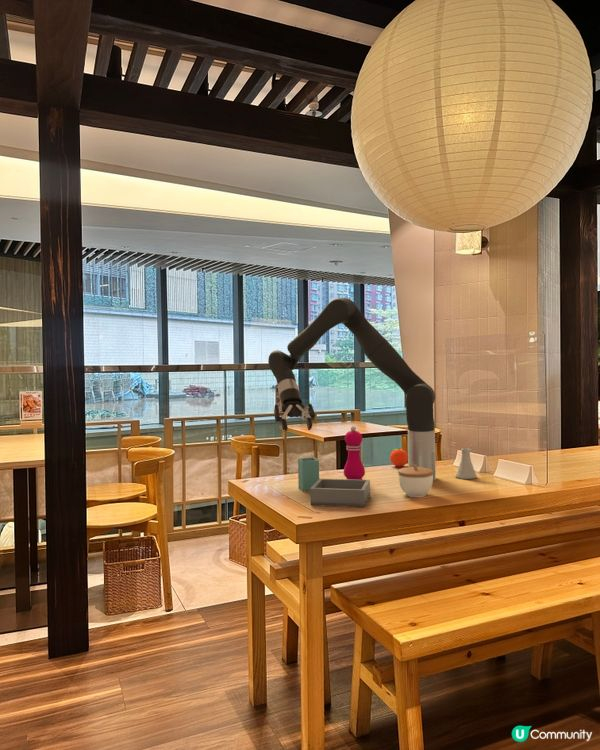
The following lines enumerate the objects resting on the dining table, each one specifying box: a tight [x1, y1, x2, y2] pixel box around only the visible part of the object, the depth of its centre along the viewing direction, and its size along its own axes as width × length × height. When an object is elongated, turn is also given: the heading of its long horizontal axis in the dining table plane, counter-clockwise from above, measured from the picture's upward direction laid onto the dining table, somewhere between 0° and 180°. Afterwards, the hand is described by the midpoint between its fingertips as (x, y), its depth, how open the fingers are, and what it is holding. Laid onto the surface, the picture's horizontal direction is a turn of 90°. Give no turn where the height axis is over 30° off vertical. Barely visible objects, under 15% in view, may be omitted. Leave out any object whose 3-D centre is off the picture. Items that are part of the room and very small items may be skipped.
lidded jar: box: [397, 465, 434, 498], centre depth 186 cm, size 11×11×9 cm
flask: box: [455, 448, 477, 480], centre depth 210 cm, size 7×7×10 cm
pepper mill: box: [343, 425, 366, 480], centre depth 202 cm, size 7×7×20 cm
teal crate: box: [297, 457, 320, 493], centre depth 197 cm, size 6×6×10 cm
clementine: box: [387, 448, 408, 468], centre depth 232 cm, size 8×7×7 cm
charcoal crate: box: [309, 478, 371, 508], centre depth 182 cm, size 16×14×5 cm
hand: (298, 429), depth 208 cm, fingers open, 8 cm apart
